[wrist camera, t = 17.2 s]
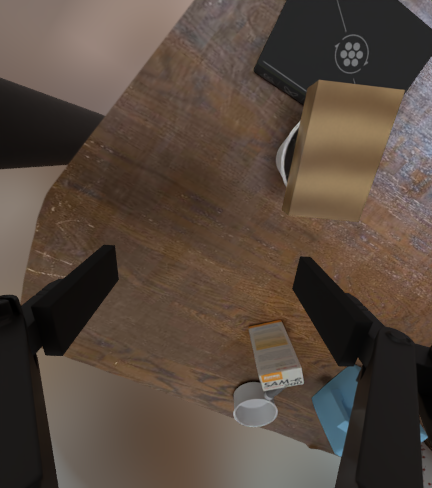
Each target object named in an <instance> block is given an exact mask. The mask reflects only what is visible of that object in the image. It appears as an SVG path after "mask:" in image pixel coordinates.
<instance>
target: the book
mask: <svg viewBox="0 0 432 488" xmlns="http://www.w3.org/2000/svg"><path fill="white" fill-rule="evenodd" d="M431 56H432V29H431V28H430V27H429V26H428V25H426V24H425V23H424V22H423V21H422V20H421V19H419V18H418V17H417V16H416V15H415V14H413V13H412V12H411V11H410V10H409V9H408V8H406V7H405V6H404V5H403V4H402V3H400V2H399V1H398V0H287V1H286V3H285V5H284V7H283V9H282V11H281V14H280V16H279V18H278V20H277V22H276V24H275V26H274V28H273V30H272V32H271V34H270V37H269V39H268V41H267V43H266V45H265V47H264V49H263V51H262V53H261V55H260V57H259V59H258V62H257V64H256V66H255V68H254V72H255V73H257V74H258V75H260V76H261V77H263V78H264V79H266V80H267V81H269V82H270V83H272V84H273V85H275V86H276V87H278V88H280V89H281V90H283V91H284V92H286V93H287V94H289V95H290V96H292V97H293V98H295V99H296V100H298V101H299V102H301V103H302V104H304V102H305V98H306V93H307V88H308V87H310V86H311V85H313V84H314V83H315V82H317V81H318V80H325V81H334V82H342V83H350V84H359V85H367V86H375V87H384V88H392V89H400V90H405V92H406V91H407V90H408V88H409V87H410V85H411V84H412V83H413V81H414V80H415V78H416V77H417V76H418V74H419V73H420V71H421V70H422V69H423V67H424V66H425V64H426V63H427V62H428V60H429V59H430V57H431ZM405 92H404V94H405Z"/></svg>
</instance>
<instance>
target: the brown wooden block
mask: <svg viewBox="0 0 432 488" xmlns="http://www.w3.org/2000/svg"><path fill="white" fill-rule="evenodd" d="M404 92H405V90H400V89H392V88H384V87H375V86H367V85H359V84H350V83H342V82H334V81H325V80H318V81H317V82H315V83H314V84H313V85H311V86H310V87H308V88H307V93H306V98H305V102H304V107H303V112H302V116H301V121H300V126H299V131H298V135H297V140H296V145H295V150H294V154H293V159H292V164H291V169H290V173H289V178H288V183H287V187H286V192H285V197H284V202H283V206H282V211H284V212H285V213H286V214H287V215H289V216H298V217H309V218H320V219H331V220H341V221H352V222H359V220H360V217H361V214H362V211H363V208H364V206H365V203H366V200H367V197H368V194H369V191H370V189H371V186H372V183H373V180H374V177H375V174H376V172H377V169H378V166H379V163H380V160H381V157H382V155H383V152H384V149H385V146H386V143H387V140H388V138H389V135H390V132H391V129H392V126H393V123H394V121H395V118H396V115H397V112H398V109H399V106H400V104H401V101H402V98H403V95H404Z"/></svg>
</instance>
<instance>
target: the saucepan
mask: <svg viewBox="0 0 432 488" xmlns="http://www.w3.org/2000/svg"><path fill="white" fill-rule="evenodd" d="M284 388H286V387H284ZM284 388H278V389H273V390H268V391H263V388H262V385H261V383H258V382H249V383H245V384H243V385H241V386H239V387H238V388H237V389H236V390H235V392H234V408H235V410H234V418H235V419H236V421H237V422H238V423H240V424H242V425H244V426H248V427H260V426H264V425H267V424H269V423H271V422H272V421H273V420H274V419H275V418H276V416H277V414H278V410H277V407H276V406H275V404H274V400H273V398H274V396H275V395H277V394H279V393H280V392H281V391H282V390H283V389H284Z"/></svg>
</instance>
